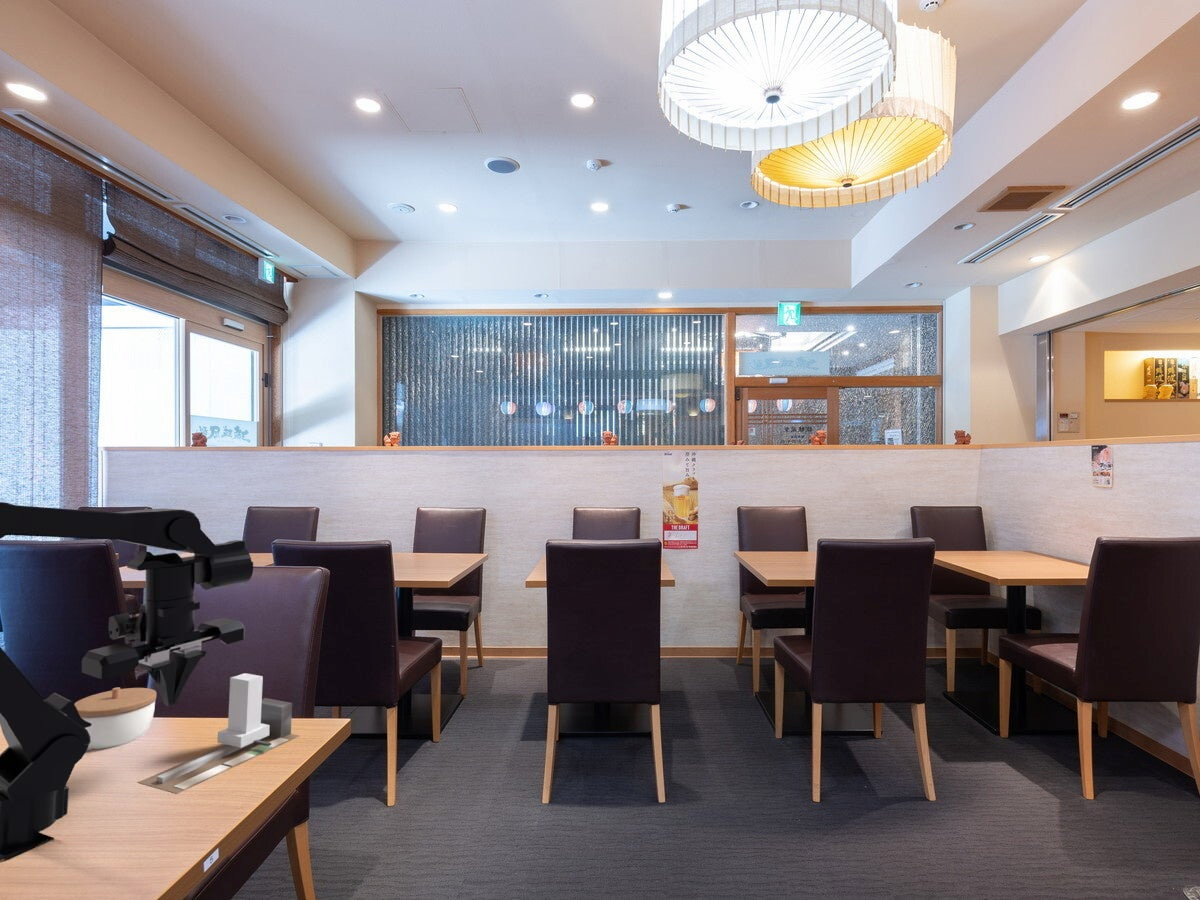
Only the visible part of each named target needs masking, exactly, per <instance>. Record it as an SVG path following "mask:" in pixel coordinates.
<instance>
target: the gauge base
mask: <svg viewBox="0 0 1200 900" xmlns="http://www.w3.org/2000/svg"><path fill="white" fill-rule="evenodd" d="M292 714H293V702H289V701H285V700H283V701H282V700H278V699H273V698H269V697H264V698H262V705H261V723H262V724H267V725H270V728H269V736H266V737H264V738H262V739H260V741H264V742H269V743H271V745H270V746H265V745H260V744H256V743H251V744H248V745H246V746H244V747H242V748H239V747H235V746H230V745H226V744H223V745H221V746H219V747H217V748H215V749H212V750H210V751H208V752H205V753H202V754H201V755H198V756H196V757H193V758H192V759H189V760H186V761H183V762H182V763H180V764H177V765H175V766H173V767H170V768H168V769H166V770H163V771H160V772H157V773H156V774H154V775H151V776H149V777H147V778H144V779H142V780H140V781H137V783H138V784H141V785H144V786H147V787H151V788H154V789H158V790H162V791H164V792H169V793H172V794H175V795H177V794H180V793H182V792H184V791H186V790H188V789H190V788H192V787H195V786H197V785H199V784H201V783H204V782H206V781H208V780H209V779H211V778H213V777H216V776H218V775H219V774H222V773H225V772H226V771H229V770H231V769H233V768H235V767H238V766H239V765H241V764H243V763H246V762H248V761H249V760H252V759H254V758H257V757H258V756H261V755H263V754H265V753H267V752H269V751H271V750H273V749H276V748H278V747H279V746H282V745H285V744H286V743H288V742H290V741H292V740H295V739H297V738H299V737H300V735H298V734H294V733H292V718H293V717H292V716H293V715H292Z"/></svg>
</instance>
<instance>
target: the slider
mask: <svg viewBox="0 0 1200 900" xmlns="http://www.w3.org/2000/svg"><path fill="white" fill-rule="evenodd" d="M263 676H264V675H263ZM263 676H262V675H257V674H253V673H245V672H244V673H240V674H239V675H235V676H231V677H229V697H228V700H229V701H228V717H227V718H228V721H227V728H224V729H222V730H220V731H218V732H217V743H218V744H223V745H230V746H235V747H239V748H242V747H244V746H246V745H248V744H251V743H256V744H260V745H265V746H270V745H271V743H269V742H264V741H260V739H262V738H264V737H266V736H269V728H270V725H267V724H262V723H261V705H262V699H263V683H264V682H263V679H264V678H263Z"/></svg>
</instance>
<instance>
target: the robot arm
mask: <svg viewBox="0 0 1200 900" xmlns="http://www.w3.org/2000/svg"><path fill="white" fill-rule="evenodd" d="M201 526H202V525H201V522H200V519H199V518H198V516H197V515H196V514H195V513H194V512H192V511H190V510H186V509H179V508H178V509H176V508H150V509H137V510H135V509H134V510H126V511H114V512H113V511H111V512H110V511H99V510H84V509H73V508H61V507H60V508H58V507H57V508H56V507H44V506H34V505H33V506H32V505H31V506H30V505H17V504H12V503H9V502H5V501H4V502H3V501H0V539H2V538H4V537H5V536H21V537H23V536H24V537H42V538H43V537H45V538H67V539H68V538H70V539H71V538H72V539H89V540H90V539H92V540H94V539H95V540H96V539H97V540H116V541H119V542H124V543H129V544H135V545H139V546H145V547H149V548H156V549H162V550H170V551H176V552H182V553H183V552H184V553H189V554H194V555H191V556H184V557H181V556H180V555H179V554H178V553H176V552H169V553H161V554H160V553H159V554H153V553H152V552H150V551H147V550H141V551H140V552H139V554H137V556H136V557H135V558H133V559H132V560H130V561H129V562H128V563H127V564H126V568H127V569H131V570H134V571H139V572H140V571H141V572H142V571H145V603H142V604H140V607H139V612H138V613H139V614H138V615H136V616H133V617H132V616H131V615H130V613H129V612H125V613H120V614H116V615H112V616H110V617H108V633H109V638H110V639H111V640H117V639H120V638H124V641H125V644H130V643H134V642H136V643H143V642H144V644H141V645H137V646H133V647H132V646H128V645H124V644H121V643H116V644H111V645H107V646H102V647H99V648H94V649H90V650H87V652H86V653H85V655H84V656H83V658H82V660H81V673H82V674H85V675H88V676H91V677H93V678H97V679H99V680H108V679H112V678H115V677H119V676H123V675H125V674H130V673H133V671H134V670H135V669H136V668H140V669H143V670H146V671H147V673H148V674H149V676H150V677H151V679H152V680H153V683H154V684H155V686H156V689H157V690H158V693H159V695H160V697H161V699H162V701H163V704H164V705H165V707H166V706H167V707H171V706H174V705H175V704H176V703H177V701H178V699H179V698H180V695H181V693H182V691H183V689H184V687H185V686H186V683H187V682H188V680H189V678H190V676H191V674H193V671H194V670H195V668H196V666H197V665H198V663H199V662H200V660H201V659H202V658H204V657H207V655H208V652H207V651H205V650H203V649H202V644H203V643H208V642H210V641H214V640H217V639H219V641H220V642H221V643H223V644H224V645H230V644H233V643H238V642H241V641H243V640H245V639H246V627H245V625H244V624H243V622H241V621H240V620H236V619H231V618H227V617H220V618H216V619H212V620H211V619H210V620H207V621H204V622H200V624H199V625H198V627H197V629H196V628H195V611H196V610H200V608H201V605H200V603H201V602H200V601H197V600H196V601H195V584H196V585H199V586H200V587H201V588H202V589H203V590H206V591H208V590H213V589H218V588H219V589H220V588H225V587H229V586H234V585H236V586H237V585H240V584H245V583H248V582H249V581H251V579H252V577H253V573H254V562H253V561H252V557H251V554H250V553H249V551H248V550H247V548H246V541H245V540H241V539H235V540H229V541H226V542H222V543H214V542H213V541H212V540H211V539H210V538H209V536H207V534H206V533H205V532H204V531H203V530H202V529H201V528H202V527H201ZM74 704H75V703H74V701H72V700H70V699H68V698H65V697H64V696H62V695H60V694H58V693H56V692H53V693H51V694H50V696H48V697H47V698H43V697H42V696H41V694H40V693H39V692H38V691H37V689H36V688H35V687H34V686H33V685H32V684H31V682H30V681H29V680H28V679H27V678H26V676H25V675H24V673H22V671H21V670H20V669H19V667H17V666H16V664H15V663H14V662H13V660H12V659H11V658H10V657H9V655H8V654H7V653H6V652H5V651H4V650H3V648H2V647H1V646H0V728H1V732H2V734H3V735H2V736H3V737H4V739H5V741H6V744H7V745H8V747H7V748H5V750H3V751H2V752H1V753H0V859H1V860H6V859H9V858H12V857H14V856H16V855H19V854H22V853H23V852H25V851H28V850H29V849H32V848H35V847H36V846H38V845H41V844H43V843H45V842H48V841H50V840H51V839H52V840H53V839H54V837H53V836H50V835H47V834H44V833H42V831H44V830H46V829H48V828H49V827H51V826H53V824H55V822H56V821H58V820H60V819H62V818H63V817H64V816H66V815H68V812H69V811H68V809H69V808H68V807H69V796H70V793H69V792H70V787H69V786H67V784H68V781H69V779H70V777H71V774H72V773H73V770H74V768H75V765H76V764H77V763H78V762H80V761H81V759H82V758H83V757H84V756H85V754H86V753H87V748H88V746H89V743H90V742H91V740H90V735H89V733H88V731H87V730H86V729H85V728H86V727H90V726H91V725H92V724H91V723H89V722H87V721H85V720H84V719H82V718H81V717H80V715H79V713H78V711H77V708H76V706H75V705H74Z"/></svg>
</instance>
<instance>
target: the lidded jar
mask: <svg viewBox="0 0 1200 900" xmlns="http://www.w3.org/2000/svg"><path fill="white" fill-rule="evenodd" d="M156 700H157V691H156V690H155V689H152V688H148V687H147V688H146V687H131V688H130V687H128V688H121V687H114V688H112V689H111V690H108V691H103V692H100V693H96V694H92V695H89V696H86V697H83V698H81V699H79V700H77V701H76V702H75V703H74V705H75V706H76V708H77V711H78V713H79V715H80V717H81V718H82V719H84V720H85V721H87V722H89V723H91V724H92V725H91V726H90V727H86V728H85V729H86V730H87V731H88V733H89V735H90V740H91V742H90V743H89V746H88V748H87V751H90V750H101V749H109V748H114V747H118V746H122V745H126V744H128V743H131V742H132V743H133V742H134V741H136V740H138V739H140V738H142V737H143V736H144V735H145V734H146V733H147V732H148V730H149V728H150V726H151V724H152V722H153V718H154V714H155V706H156ZM87 751H86V752H87Z"/></svg>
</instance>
